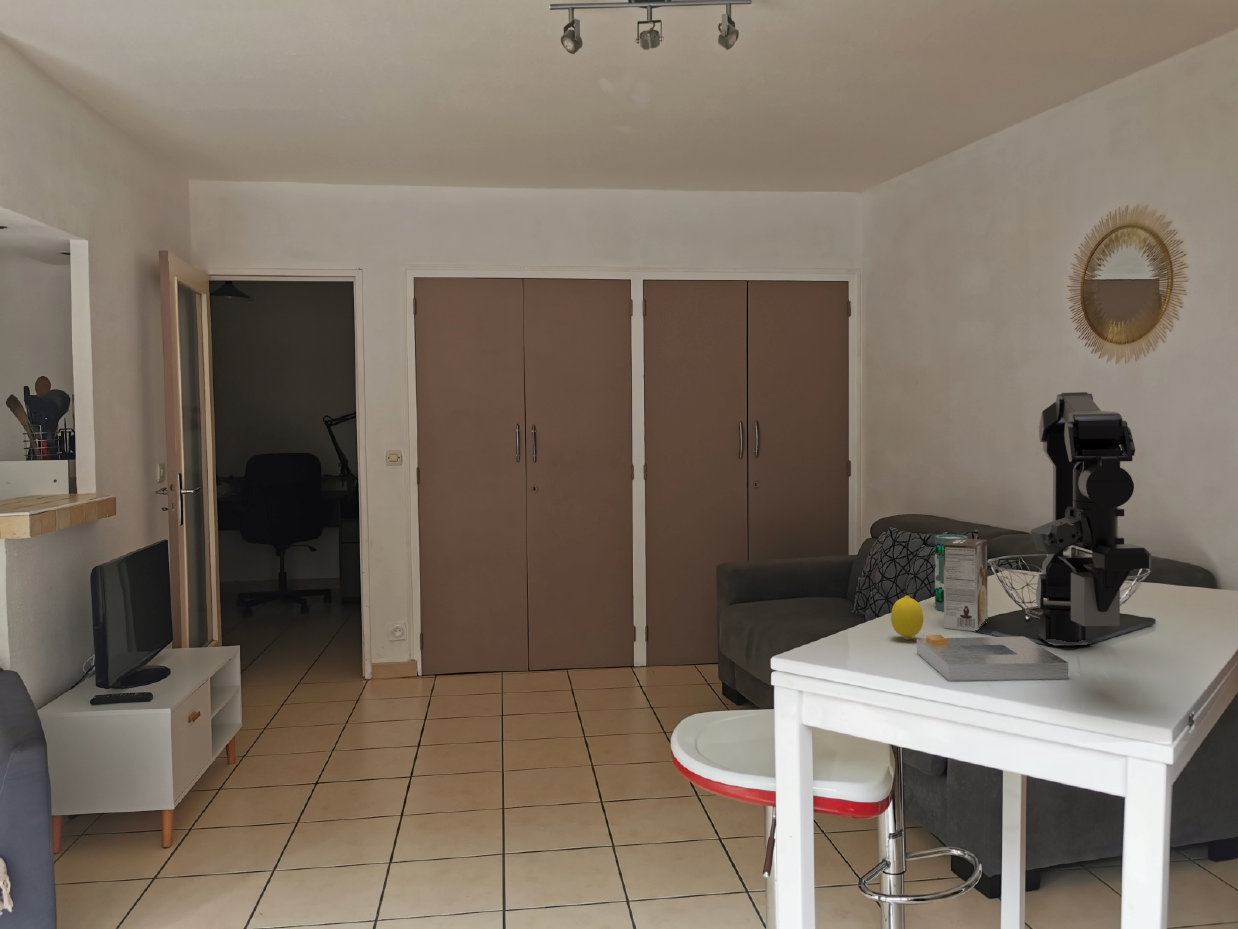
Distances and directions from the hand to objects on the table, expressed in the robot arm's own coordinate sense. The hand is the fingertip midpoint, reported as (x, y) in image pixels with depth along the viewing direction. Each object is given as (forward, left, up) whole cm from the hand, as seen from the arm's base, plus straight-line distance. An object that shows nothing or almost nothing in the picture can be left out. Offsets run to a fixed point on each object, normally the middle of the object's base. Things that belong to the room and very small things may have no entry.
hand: (1094, 608), depth 131 cm
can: (+2, -55, -12) cm, 56 cm away
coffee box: (+4, -41, -12) cm, 43 cm away
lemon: (+18, -31, -12) cm, 38 cm away
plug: (0, 0, -2) cm, 2 cm away
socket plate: (+10, -14, -12) cm, 21 cm away
